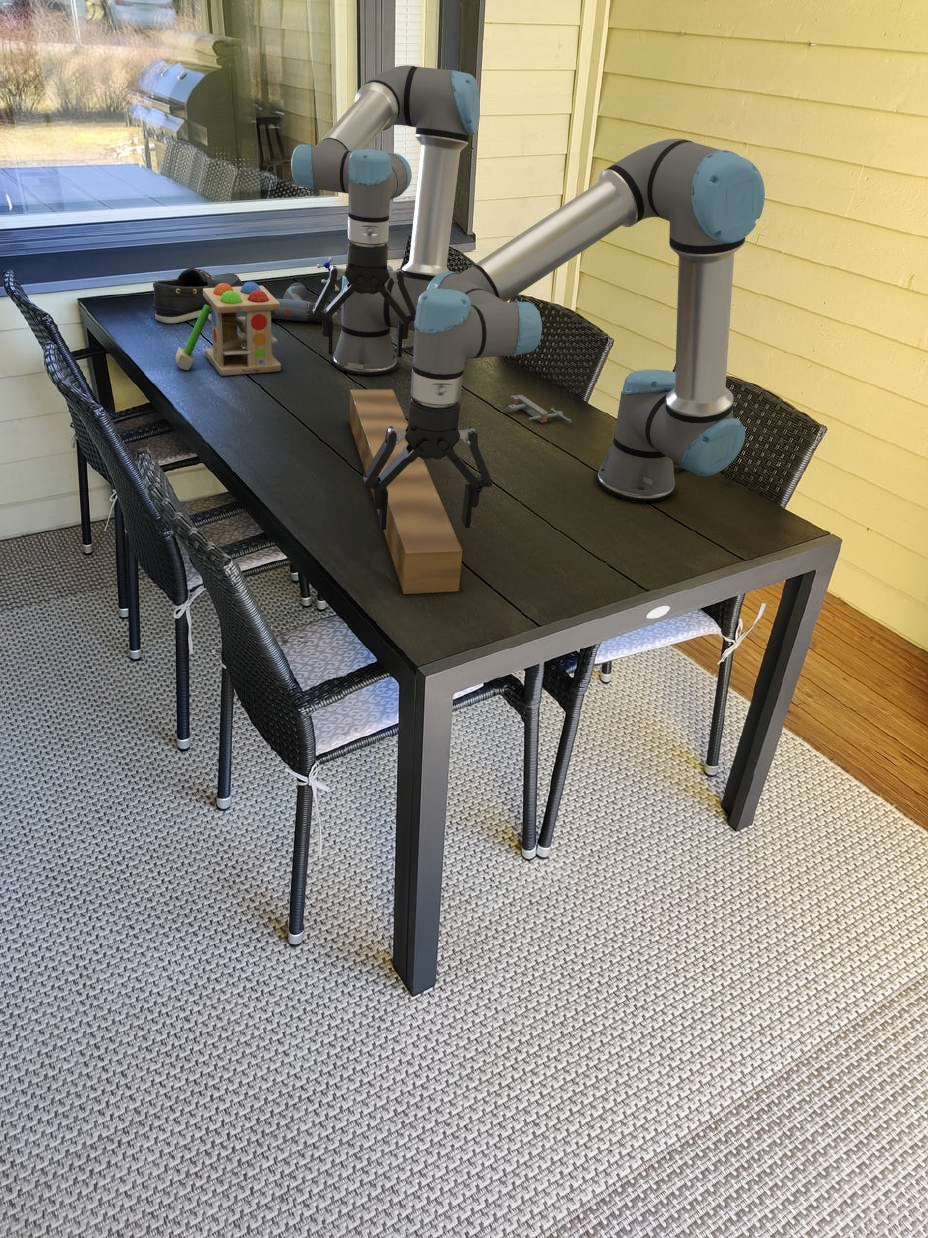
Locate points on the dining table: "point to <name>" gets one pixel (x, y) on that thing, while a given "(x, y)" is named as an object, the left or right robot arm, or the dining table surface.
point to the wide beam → (407, 501)
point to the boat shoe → (186, 294)
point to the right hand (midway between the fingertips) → (424, 525)
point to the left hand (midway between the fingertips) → (364, 353)
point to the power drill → (296, 305)
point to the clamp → (526, 405)
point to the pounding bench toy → (229, 347)
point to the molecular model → (329, 271)
